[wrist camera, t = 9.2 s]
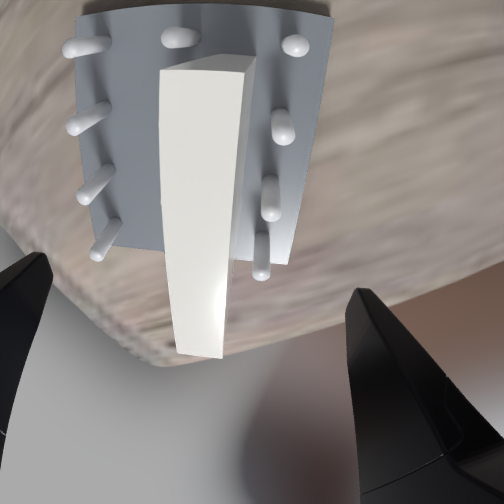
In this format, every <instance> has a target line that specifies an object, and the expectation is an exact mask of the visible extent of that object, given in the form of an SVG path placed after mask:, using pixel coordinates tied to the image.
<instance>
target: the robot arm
mask: <svg viewBox="0 0 504 504" xmlns="http://www.w3.org/2000/svg"><path fill="white" fill-rule="evenodd" d="M52 281H53V272H52V269H51V267H50V264H49V261H48V258H47V256H46V254H45V253H42V252H32V253H30V254H29V255H27V256H25V257H24V258H22V259H21V260H19V261H17V262H16V263H14V264H13V265H11V266H9V267H8V268H7V269H5V270H3V271H2V272H0V468H1V461H2V455H3V449H4V443H5V438H6V433H7V428H8V423H9V419H10V415H11V411H12V406H13V403H14V399H15V395H16V392H17V388H18V385H19V381H20V378H21V375H22V371H23V368H24V365H25V362H26V359H27V356H28V353H29V350H30V347H31V344H32V341H33V339H34V336H35V333H36V331H37V328H38V325H39V322H40V319H41V316H42V313H43V310H44V306H45V303H46V300H47V296H48V293H49V290H50V287H51V284H52ZM345 321H346V346H347V366H348V374H349V382H350V389H351V398H352V406H353V415H354V424H355V434H356V444H357V457H358V469H359V485H360V494H361V495H360V504H504V438H503V437H502V436H500V434H499V433H498V432H497V431H496V430H495V429H494V428H493V427H492V426H491V425H490V423H489V422H488V421H487V420H486V419H485V418H484V417H483V416H482V415H481V414H480V413H479V412H478V411H477V410H476V408H475V407H474V406H473V405H472V404H471V403H470V402H469V401H468V400H467V399H466V397H465V396H464V395H463V394H462V393H461V392H460V390H459V389H458V388H457V387H456V386H455V384H454V383H453V382H452V381H451V380H450V379H449V377H446V374H445V373H444V371H443V370H442V369H441V368H440V367H439V365H438V364H437V363H436V362H435V361H434V359H433V358H432V357H431V356H430V355H429V354H428V352H427V351H426V350H425V349H424V348H423V347H422V346H421V344H420V343H419V342H418V341H417V340H416V339H415V338H414V336H413V335H412V334H411V333H410V332H409V331H408V330H407V329H406V327H405V326H404V325H403V324H402V323H401V322H400V321H399V320H398V318H397V317H396V316H395V315H394V314H393V313H392V312H391V311H390V310H389V309H388V307H387V306H386V305H385V304H384V303H383V302H382V301H381V300H380V299H379V298H378V297H377V295H376V294H375V293H374V292H373V291H372V290H371V289H368V288H356V289H355V290H354V292H353V294H352V296H351V299H350V301H349V303H348V305H347V308H346V312H345Z"/></svg>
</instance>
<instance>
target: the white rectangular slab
mask: <svg viewBox="0 0 504 504" xmlns="http://www.w3.org/2000/svg"><path fill="white" fill-rule="evenodd" d="M256 57H257V56H248V55H235V54H217V55H213V56H209V57H205V58H201V59H197V60H193V61H189V62H185V63H182V64H178V65H175V66H171V67H168V68H165V69H162V70H160V82H159V157H160V185H161V205H162V221H163V234H164V247H165V258H166V268H167V278H168V287H169V296H170V305H171V313H172V320H173V328H174V335H175V342H176V348H177V353H180V354H187V355H195V356H203V357H211V358H221V359H222V358H223V349H224V340H225V332H226V324H227V315H228V307H229V299H230V291H231V283H232V275H233V267H234V259H235V251H236V243H237V236H238V228H239V221H240V210H241V200H242V189H243V179H244V169H245V159H246V150H247V140H248V130H249V121H250V111H251V102H252V93H253V84H254V75H255V66H256Z"/></svg>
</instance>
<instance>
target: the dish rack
mask: <svg viewBox="0 0 504 504" xmlns="http://www.w3.org/2000/svg"><path fill="white" fill-rule="evenodd" d="M333 24H334V18H331V17H327V16H322V15H317V14H312V13H306V12H300V11H294V10H287V9H280V8H272V7H263V6H252V5H238V4H211V3H192V4H166V5H152V6H142V7H133V8H125V9H118V10H111V11H105V12H99V13H94V14H89V15H84V16H79V17H76V29H75V38H70V39H68V40H67V41H66V42H65V43H64V45H63V48H62V52H63V55H64V56H65V57H66V58H73V57H75V88H76V107H77V114H76V115H74V116H72V117H71V118H69V119H68V120H67V122H66V129H67V132H68V133H69V134H70V135H72V136H76V135H78V134H79V142H80V151H81V159H82V166H83V173H84V180H85V184H84V185H83V186H82V187H81V188H80V189H79V190H78V191H77V192H76V198H77V200H78V202H79V203H81V204H82V205H88V204H89V209H90V214H91V220H92V224H93V229H94V234H95V239H96V241H95V243H94V244H93V246H92V248H91V249H90V251H89V255H90V257H91V258H92V259H93V260H94V261H97V262H100V261H102V260H103V258H104V256H105V255H106V253H107V251H108V250H109V248H110V246H120V247H129V248H138V249H147V250H156V251H165V247H164V234H163V221H162V205H161V185H160V157H159V82H160V70H162V69H165V68H168V67H171V66H175V65H178V64H182V63H185V62H189V61H193V60H197V59H201V58H205V57H209V56H213V55H217V54H235V55H248V56H257V57H256V66H255V75H254V84H253V93H252V102H251V111H250V121H249V130H248V140H247V150H246V159H245V169H244V179H243V189H242V200H241V210H240V221H239V228H238V236H237V243H236V251H235V259H238V260H248V261H253V273H252V275H253V277H254V278H255V279H256V280H259V281H264V280H267V279H268V278H269V277H270V263H277V264H286V265H287V264H288V260H289V255H290V251H291V246H292V242H293V237H294V233H295V228H296V224H297V219H298V214H299V210H300V205H301V200H302V195H303V191H304V186H305V181H306V176H307V171H308V166H309V161H310V156H311V151H312V146H313V141H314V135H315V130H316V125H317V119H318V114H319V108H320V103H321V97H322V92H323V86H324V80H325V74H326V68H327V62H328V56H329V50H330V44H331V37H332V31H333ZM165 266H166V261H165Z"/></svg>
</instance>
